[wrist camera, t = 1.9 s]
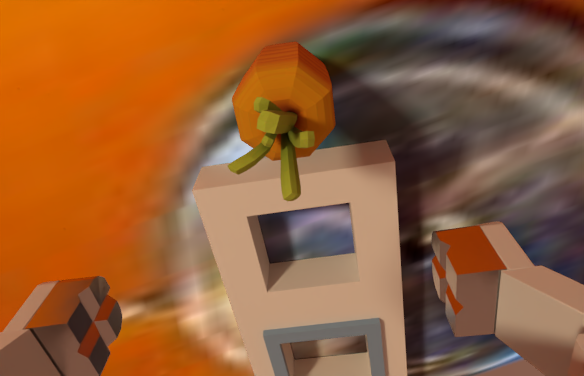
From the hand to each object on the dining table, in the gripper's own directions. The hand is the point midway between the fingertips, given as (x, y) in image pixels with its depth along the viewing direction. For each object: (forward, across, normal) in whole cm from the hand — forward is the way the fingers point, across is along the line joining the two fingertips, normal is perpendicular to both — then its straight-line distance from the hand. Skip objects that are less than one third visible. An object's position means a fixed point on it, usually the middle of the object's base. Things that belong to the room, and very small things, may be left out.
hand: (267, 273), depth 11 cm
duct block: (+21, +1, +20) cm, 29 cm away
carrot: (+21, 0, 0) cm, 21 cm away
